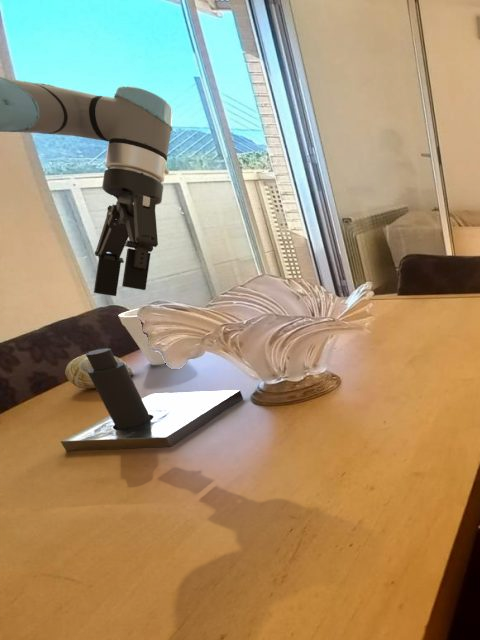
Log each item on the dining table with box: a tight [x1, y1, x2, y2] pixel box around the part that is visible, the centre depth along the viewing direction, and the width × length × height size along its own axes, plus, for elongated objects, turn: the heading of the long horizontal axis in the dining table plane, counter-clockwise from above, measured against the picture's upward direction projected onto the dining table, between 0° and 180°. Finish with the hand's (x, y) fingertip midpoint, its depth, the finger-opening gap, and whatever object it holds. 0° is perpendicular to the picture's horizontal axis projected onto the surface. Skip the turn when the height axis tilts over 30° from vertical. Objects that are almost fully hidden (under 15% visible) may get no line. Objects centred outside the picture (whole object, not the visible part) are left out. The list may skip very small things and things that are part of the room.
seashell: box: [64, 353, 134, 390], centre depth 107 cm, size 10×10×10 cm
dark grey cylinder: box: [85, 347, 151, 430], centre depth 84 cm, size 5×5×16 cm
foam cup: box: [118, 308, 166, 366], centre depth 118 cm, size 10×9×13 cm
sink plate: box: [60, 389, 244, 452], centre depth 90 cm, size 18×18×2 cm
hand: (118, 291), depth 84 cm, fingers open, 13 cm apart
